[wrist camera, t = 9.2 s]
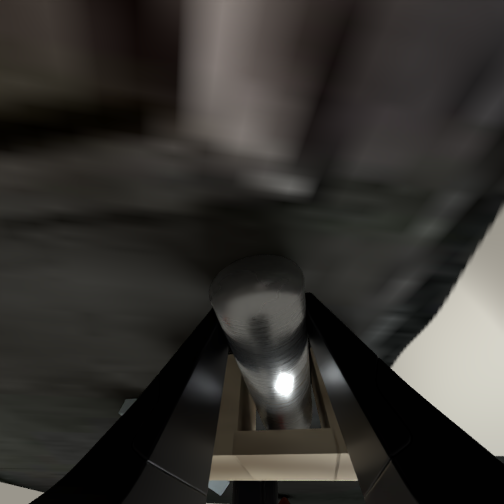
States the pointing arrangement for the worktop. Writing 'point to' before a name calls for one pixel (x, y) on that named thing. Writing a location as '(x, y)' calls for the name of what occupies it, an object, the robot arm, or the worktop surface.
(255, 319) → the axle
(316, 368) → the beam
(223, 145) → the worktop surface
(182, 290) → the worktop surface
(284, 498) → the onion
